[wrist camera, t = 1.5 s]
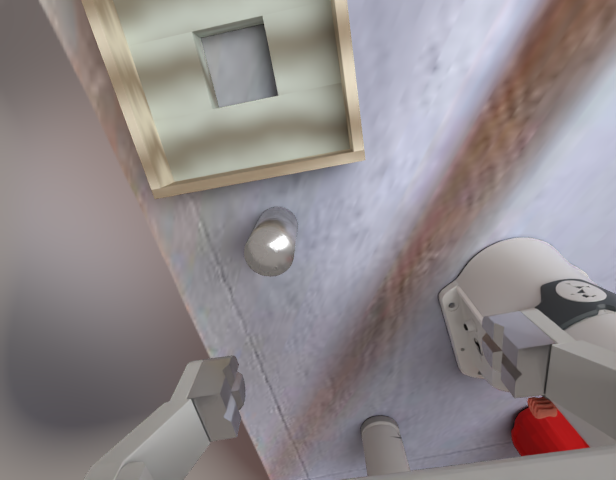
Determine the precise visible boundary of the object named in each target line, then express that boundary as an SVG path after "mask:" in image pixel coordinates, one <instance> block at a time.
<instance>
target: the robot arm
mask: <svg viewBox="0 0 616 480" xmlns="http://www.w3.org/2000/svg"><path fill="white" fill-rule="evenodd" d="M439 301H440V305H441V308H442V312H443V315H444V319H445V322H446V326H447V329H448V333H449V336H450V340H451V343H452V347H453V350H454V354H455V357H456V361H457V364H458V367H459V369H460V371H461V372H462V373H463V374H465V375H467V376H470V377H475V378H482V379H486V380H487V382H488V383H489V384H490V385H491V386H493V387H494V388H496V389H498V390H501V391H506V392H510V393H511V394H512V396H513V397H514V398H521V397H530V396H539V395H541V396H543V397H541V398H536V397H532V398H528V406H529V408H530V411H531V412H532V414H533V416H535V418H537V419H542V418H545V417H549V416H551V417H556V416H557V410H559V411H560V412H561V413H562V415H563V416H564V417H565V418H566V419H567V421H568V422H569V423H570V424H571V425H572V426H573V428H574V429H575V430H576V431H577V432H578V434H579V435H580V436H581V437H582V438H583V439H584V441H585V442H586V443H587V444H588V445H589V447H590V448H582V449H575V450H567V451H559V452H551V453H543V454H536V455H528V456H520V457H513V458H505V459H497V460H490V461H482V462H474V463H466V464H459V465H451V466H443V467H436V468H428V469H420V470H412V471H405V472H397V473H389V474H381V475H374V476H366V477H358V478H350V479H343V480H616V294H614V293H612V292H610V291H608V290H606V289H603V288H601V287H599V286H598V285H597V284H596V283H594V282H593V281H592V280H590V279H589V278H588V275H587V274H586V273H585V272H584V271H582V270H581V269H580V268H578V267H576V266H574V265H571V264H570V263H569V262H568V261H567V260H566V259H565V258H564V257H563V256H562V255H561V254H560V253H559V252H558V251H557V250H556V249H555V248H554V247H553V246H551V245H550V244H548V243H546V242H544V241H542V240H538V239H534V238H512V239H508V240H504V241H501V242H498V243H495V244H493V245H491V246H489V247H487V248H486V249H484V250H483V251H481V252H480V253H479V254H477V255H476V256H475V257H474V258H473V259H472V260H471V261H470V262H469V263H468V264H467V265H466V267H465V268H464V269H463V271H462V272H461V274H460V275H459V277H458V278H457V279H456V280H455V281H453V282H452V283H450V284H449V285H448V286H446V287H445V288H444V289H443V290H442V291H441V292H440V294H439ZM450 303H452V304H451V305H449V304H450ZM238 366H239V364H238V361H237V359H236V357H235V356H226V357H218V358H211V359H205V360H198V361H191V362H190V363H188V364H187V366H186V368H185V370H184V372H183V374H182V376H181V379H180V381H179V383H178V385H177V387H176V389H175V391H174V393H173V395H172V397H171V399H170V402H165V403H164V404H163V405H161V406H160V407H159V408H158V409H157V410H156V411H155V412H153V413H152V414H151V415H150V416H149V417H148V418H146V419H145V420H144V421H143V422H142V423H141V424H140V425H138V427H136V428H135V429H134V430H133V431H132V432H130V433H129V434H128V435H127V436H126V437H125V438H124V439H122V440H121V441H120V442H119V443H118V444H117V445H116V446H115V447H113V448H112V449H111V450H110V451H109V452H107V453H106V454H105V455H104V456H103V457H102V458H101V459H99V460H98V461H97V462H96V463H95V464H94V465H93V466H91V468H90V469H89V471H88V473H87V474H86V476H85V477H84V479H83V480H184V478H185V477H186V476H187V474H188V473H189V471H190V470H191V469H192V468H193V466H194V465H195V464H196V462H197V461H198V459H199V458H200V457H201V455H202V454H203V453H204V451H205V450H206V449H207V447H208V446H209V444H210V442H212V441H217V440H223V439H229V438H235V437H237V434H238V429H239V424H240V420H241V416H240V413H239V410H240V409H241V408H242V406H243V405H244V401H245V382H244V378H243V375H242V374H241V373H239V372H238V371H237V370H238Z"/></svg>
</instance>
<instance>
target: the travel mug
mask: <svg viewBox="0 0 616 480" xmlns="http://www.w3.org/2000/svg"><path fill="white" fill-rule="evenodd" d="M361 436H362V442H363V449H364V455H365V462H366V468H367V475H368V476H374V475H381V474H389V473H397V472H405V471H410V468H409V464H408V460H407V457H406V453H405V450H404V446H403V442H402V439H401V435H400V432H399V428H398V425H397V423H396V422H395V421H394V420H393V419H392V418H390V417H387V416H374V417H371V418H369V419H367V420H366V421H365V422H364V423H363V425H362V427H361Z"/></svg>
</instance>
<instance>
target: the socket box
mask: <svg viewBox="0 0 616 480" xmlns="http://www.w3.org/2000/svg"><path fill="white" fill-rule="evenodd" d="M81 1H82V4H83V7H84V10H85V12H86V15H87V18H88V20H89V23H90V26H91V28H92V31H93V34H94V37H95V39H96V42H97V45H98V47H99V50H100V53H101V55H102V58H103V61H104V63H105V66H106V69H107V72H108V74H109V77H110V80H111V82H112V85H113V88H114V90H115V93H116V96H117V99H118V101H119V104H120V107H121V109H122V112H123V115H124V117H125V120H126V123H127V126H128V128H129V131H130V134H131V136H132V139H133V142H134V144H135V147H136V150H137V153H138V155H139V158H140V161H141V163H142V166H143V169H144V171H145V174H146V177H147V180H148V182H149V185H150V188H151V190H152V193H153V196H154V198H155V199H159V198H164V197H170V196H175V195H180V194H186V193H191V192H197V191H202V190H207V189H213V188H218V187H223V186H229V185H234V184H240V183H245V182H250V181H256V180H261V179H267V178H272V177H277V176H283V175H288V174H293V173H299V172H304V171H310V170H315V169H320V168H326V167H331V166H337V165H342V164H347V163H353V162H358V161H364V160H365V152H364V144H363V135H362V127H361V118H360V109H359V101H358V92H357V84H356V75H355V66H354V58H353V49H352V41H351V32H350V23H349V15H348V6H347V0H81ZM260 24H264V26H265V31H266V36H267V41H268V46H269V51H270V56H271V61H272V66H273V71H274V76H275V81H276V86H277V91H278V96H274V97H269V98H265V99H260V100H255V101H250V102H245V103H240V104H236V105H231V106H226V107H221V108H219V106H218V102H217V98H216V94H215V91H214V87H213V83H212V79H211V76H210V72H209V68H208V64H207V61H206V57H205V53H204V49H203V46H202V42H201V38H202V37H207V36H211V35H216V34H220V33H224V32H229V31H233V30H238V29H242V28H246V27H251V26H255V25H260Z"/></svg>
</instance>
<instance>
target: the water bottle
mask: <svg viewBox="0 0 616 480" xmlns="http://www.w3.org/2000/svg"><path fill="white" fill-rule="evenodd" d="M511 437H512V441H513V444H514V446H515V448H516V449H517V451H518V452H519V454H520V455H521V456H528V455H536V454H543V453H551V452H559V451H567V450H575V449H582V448H590V447H589V445H588V444H587V443H586V442H585V441H584V439H583V438H582V437H581V436H580V435H579V434H578V432H577V431H576V430H575V429H574V428H573V426H572V425H571V424H570V423H569V422H568V421H567V419H566V418H565V417H564V416H563V415H562V413H561V412H560V411H559V410H557V416H556V417H551V416H549V417H545V418H542V419H537V418H535V416H533V414H532V412H531V411H530V408H529V407H528V408H526V409H525V410H523V411H522V412H520V413H519V414H518V416H517V417H516V419H515V424H514V427H513V429H512V431H511Z"/></svg>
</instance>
